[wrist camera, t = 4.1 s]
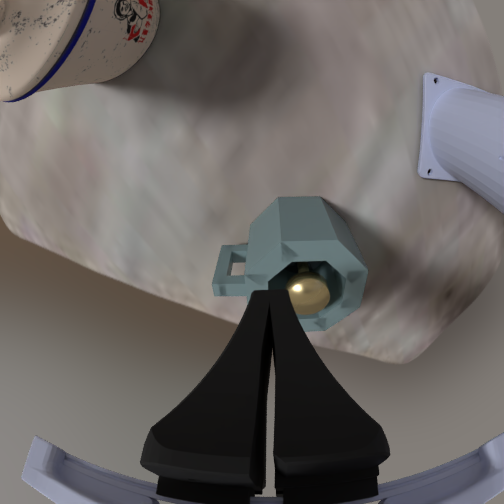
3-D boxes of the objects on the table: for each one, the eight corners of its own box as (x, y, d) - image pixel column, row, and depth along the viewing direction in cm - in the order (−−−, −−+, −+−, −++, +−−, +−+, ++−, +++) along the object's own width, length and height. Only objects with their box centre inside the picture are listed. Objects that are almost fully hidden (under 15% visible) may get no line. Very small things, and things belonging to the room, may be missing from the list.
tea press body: (348, 196, 19) (374, 239, 14) (339, 275, 23) (354, 328, 18) (219, 199, 20) (201, 244, 15) (230, 278, 24) (220, 332, 19)
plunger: (325, 226, 19) (341, 273, 15) (322, 267, 21) (334, 318, 17) (274, 227, 19) (276, 276, 15) (276, 269, 21) (277, 321, 17)
